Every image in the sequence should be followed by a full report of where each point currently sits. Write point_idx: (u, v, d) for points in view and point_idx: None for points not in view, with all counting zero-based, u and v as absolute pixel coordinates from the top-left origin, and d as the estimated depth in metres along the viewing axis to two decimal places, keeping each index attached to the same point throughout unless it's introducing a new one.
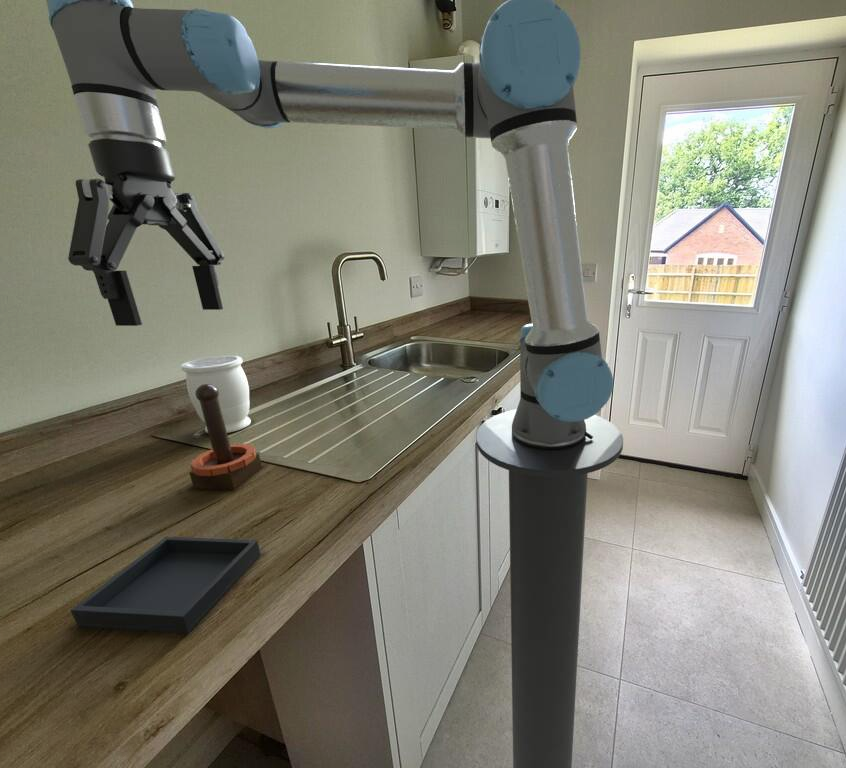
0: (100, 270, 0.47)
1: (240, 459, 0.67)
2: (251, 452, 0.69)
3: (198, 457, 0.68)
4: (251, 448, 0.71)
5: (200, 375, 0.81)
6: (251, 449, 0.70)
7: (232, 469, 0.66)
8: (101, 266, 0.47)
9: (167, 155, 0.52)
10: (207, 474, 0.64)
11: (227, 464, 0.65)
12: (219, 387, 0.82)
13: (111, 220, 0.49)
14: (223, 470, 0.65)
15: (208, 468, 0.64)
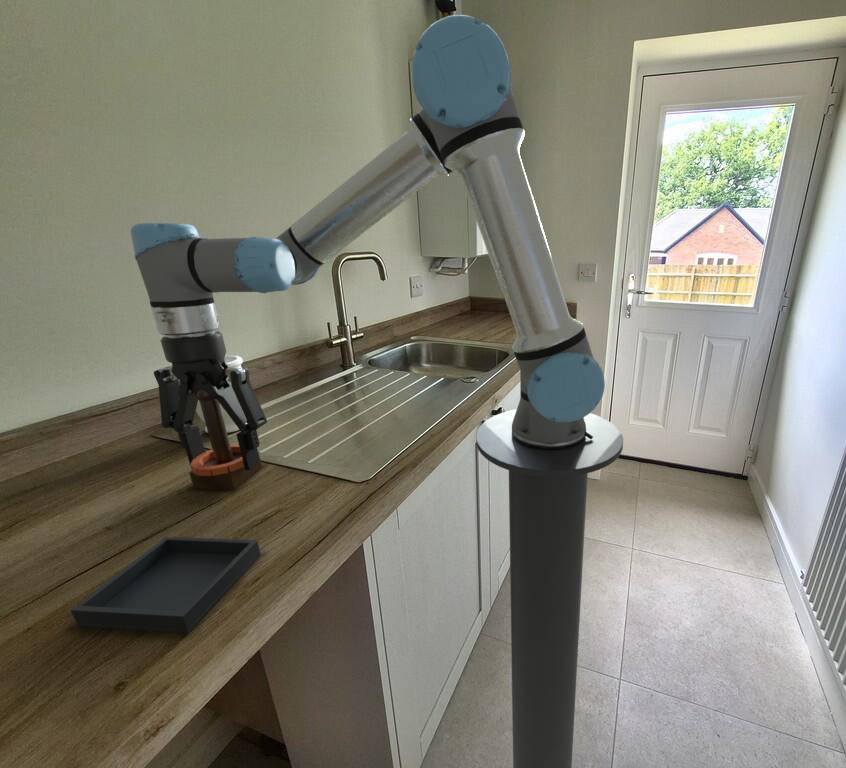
0: (255, 429, 0.67)
1: (240, 459, 0.67)
2: None
3: (198, 457, 0.68)
4: None
5: None
6: None
7: (232, 469, 0.66)
8: None
9: None
10: (207, 474, 0.64)
11: (227, 464, 0.65)
12: None
13: (224, 395, 0.64)
14: (223, 470, 0.65)
15: (208, 468, 0.64)
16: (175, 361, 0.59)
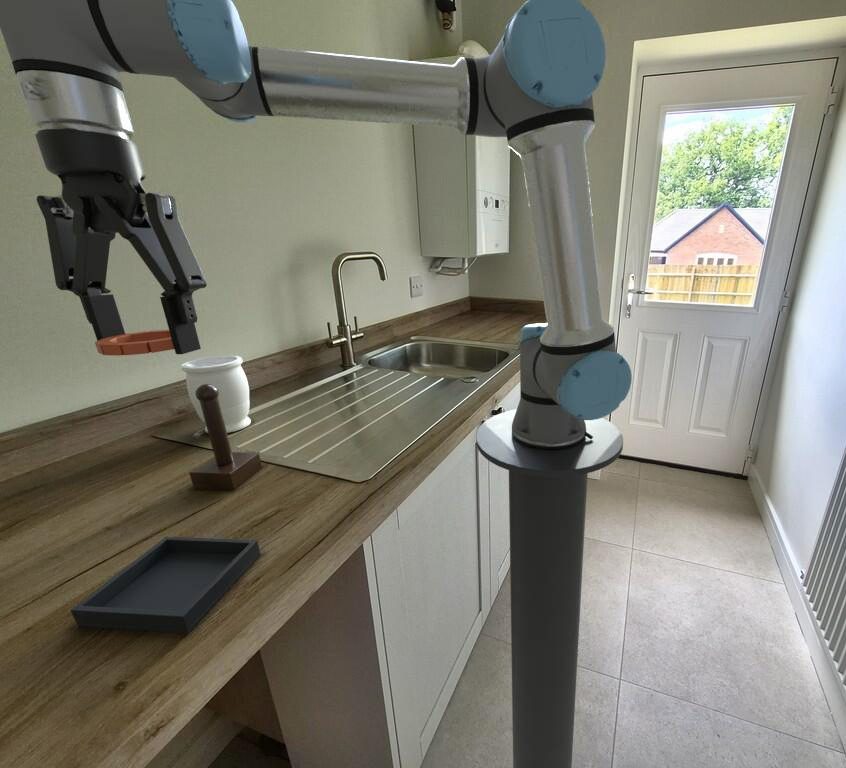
0: (190, 294, 0.46)
1: (168, 338, 0.47)
2: None
3: (111, 337, 0.48)
4: None
5: (200, 375, 0.81)
6: None
7: (155, 349, 0.45)
8: None
9: None
10: (116, 352, 0.44)
11: (147, 341, 0.45)
12: (219, 387, 0.82)
13: (139, 235, 0.43)
14: (140, 348, 0.45)
15: (117, 344, 0.44)
16: (56, 166, 0.39)
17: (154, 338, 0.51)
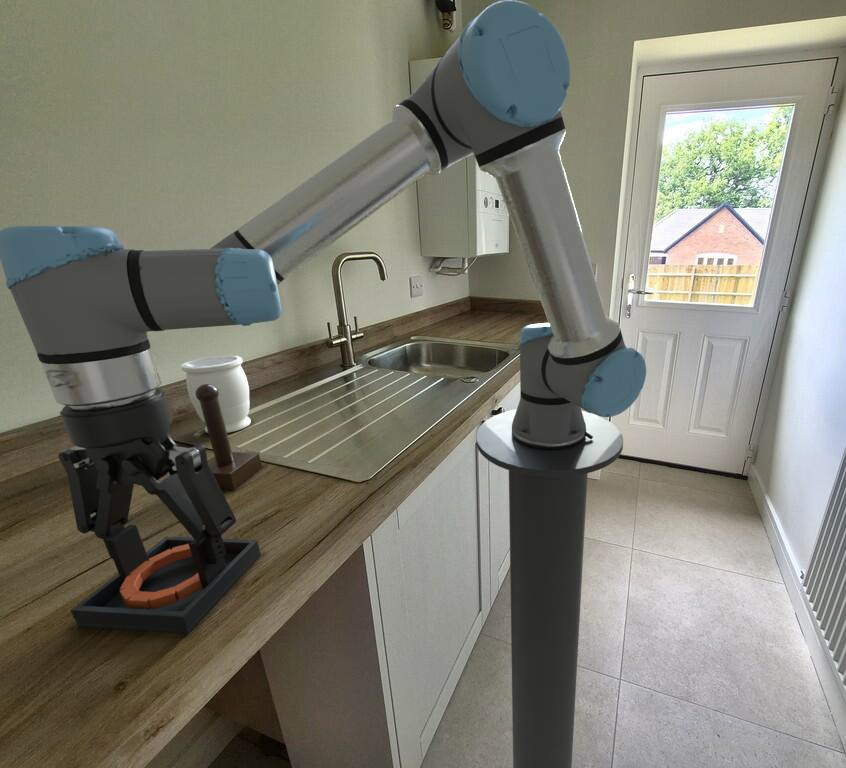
0: None
1: (196, 577, 0.45)
2: None
3: (135, 572, 0.46)
4: None
5: (200, 375, 0.81)
6: None
7: (183, 596, 0.44)
8: None
9: None
10: (143, 607, 0.42)
11: (175, 589, 0.43)
12: (219, 387, 0.82)
13: (167, 488, 0.42)
14: (168, 600, 0.43)
15: (144, 598, 0.42)
16: (83, 445, 0.37)
17: (178, 557, 0.49)
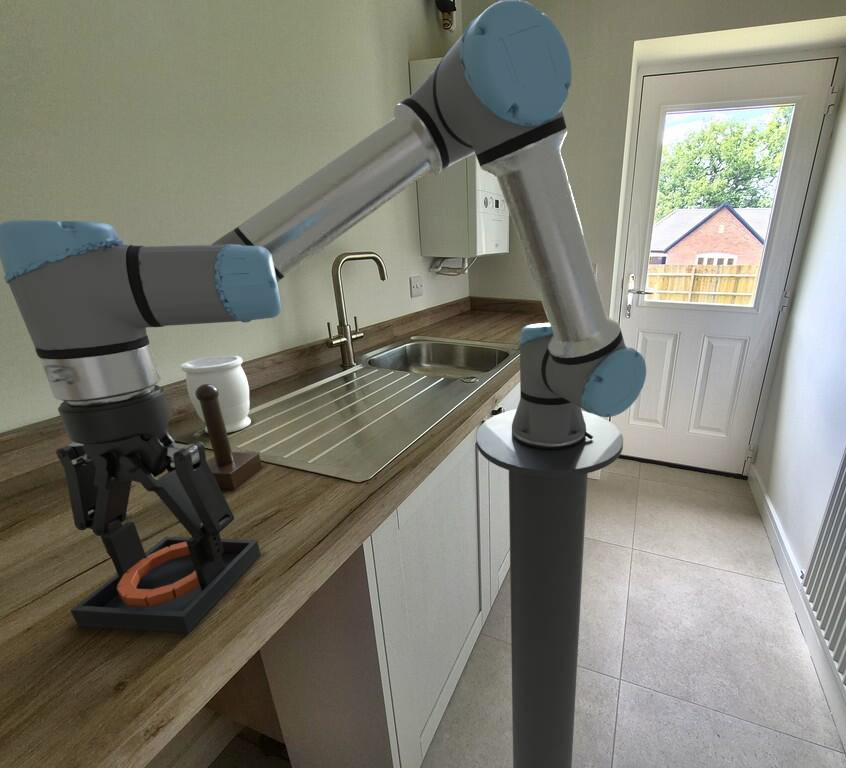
0: None
1: (194, 575, 0.45)
2: None
3: (132, 570, 0.45)
4: None
5: (200, 375, 0.81)
6: None
7: (180, 593, 0.43)
8: None
9: None
10: (140, 605, 0.42)
11: (173, 586, 0.43)
12: (219, 387, 0.82)
13: (165, 485, 0.41)
14: (166, 597, 0.43)
15: (142, 596, 0.42)
16: (81, 441, 0.37)
17: (175, 555, 0.49)
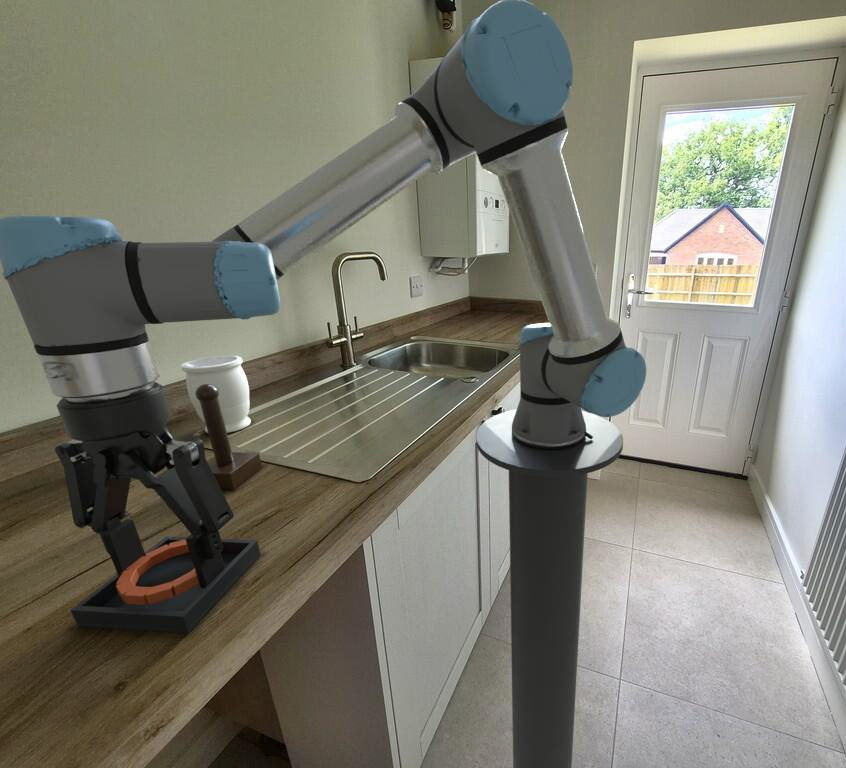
0: None
1: (193, 572, 0.45)
2: None
3: (131, 567, 0.45)
4: None
5: (200, 375, 0.81)
6: None
7: (180, 591, 0.43)
8: None
9: None
10: (140, 602, 0.42)
11: (172, 584, 0.43)
12: (219, 387, 0.82)
13: (164, 483, 0.41)
14: (165, 595, 0.42)
15: (141, 593, 0.42)
16: (80, 438, 0.37)
17: (175, 553, 0.49)
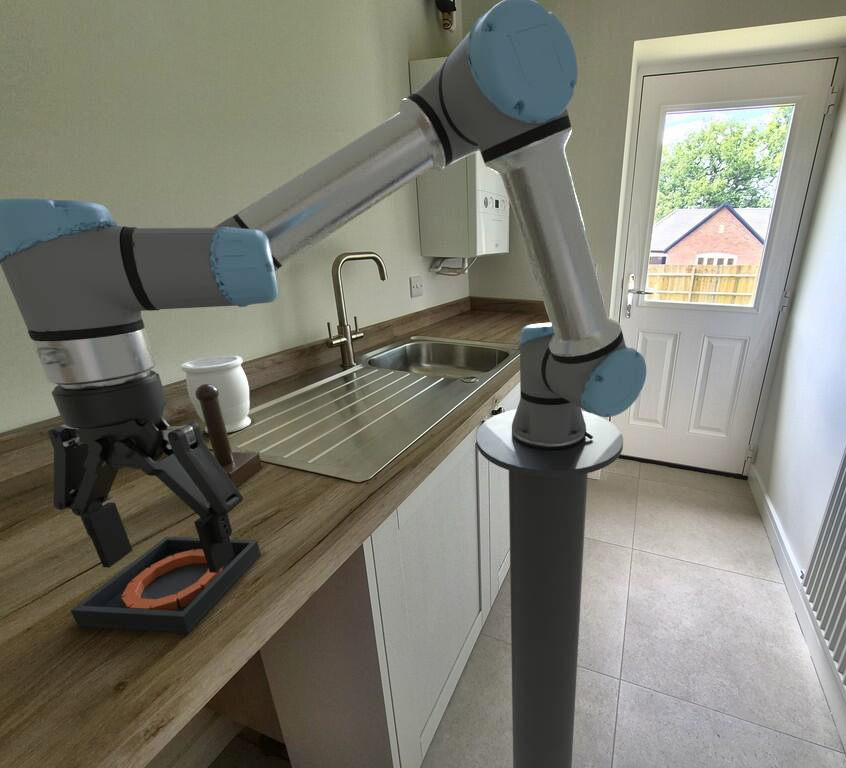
0: None
1: (197, 584, 0.45)
2: None
3: (136, 579, 0.46)
4: None
5: (200, 375, 0.81)
6: None
7: (184, 603, 0.44)
8: None
9: None
10: None
11: (176, 596, 0.44)
12: (219, 387, 0.82)
13: (165, 468, 0.41)
14: (170, 607, 0.43)
15: (146, 606, 0.42)
16: (75, 426, 0.36)
17: (179, 564, 0.49)
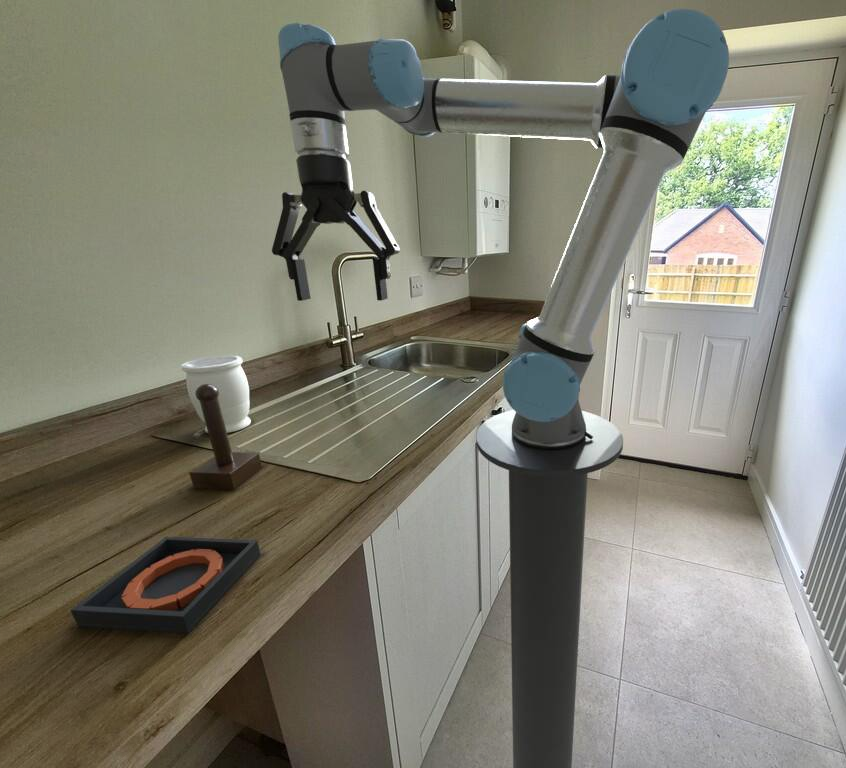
0: (389, 257, 0.66)
1: (197, 584, 0.45)
2: (216, 568, 0.47)
3: (136, 579, 0.46)
4: (217, 558, 0.49)
5: (200, 375, 0.81)
6: (216, 561, 0.48)
7: (184, 603, 0.44)
8: None
9: None
10: None
11: (176, 596, 0.44)
12: (219, 387, 0.82)
13: (355, 220, 0.63)
14: (170, 607, 0.43)
15: (146, 606, 0.42)
16: (312, 178, 0.59)
17: (179, 564, 0.49)
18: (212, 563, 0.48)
